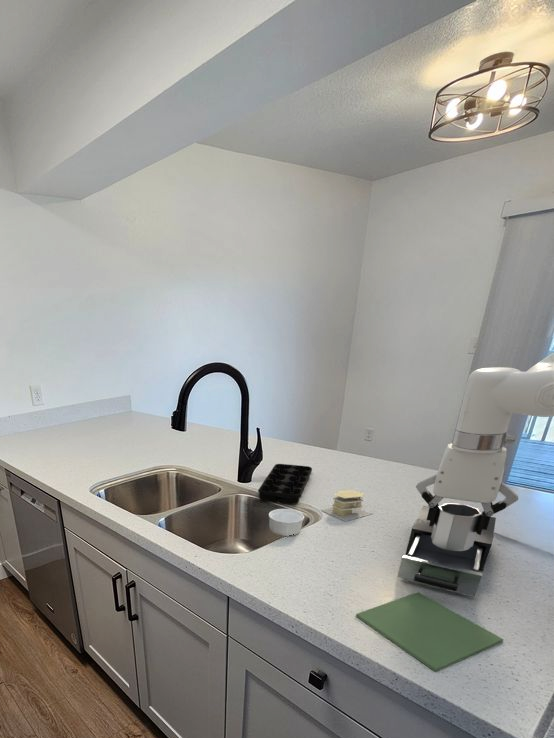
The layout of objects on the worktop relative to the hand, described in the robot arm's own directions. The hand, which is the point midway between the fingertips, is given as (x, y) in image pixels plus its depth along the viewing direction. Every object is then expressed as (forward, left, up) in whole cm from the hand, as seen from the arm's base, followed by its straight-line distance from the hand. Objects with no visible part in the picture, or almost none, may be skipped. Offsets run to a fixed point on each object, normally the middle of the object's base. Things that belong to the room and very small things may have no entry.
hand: (455, 527), depth 87 cm
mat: (-11, +19, -11) cm, 24 cm away
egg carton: (+58, -5, -11) cm, 59 cm away
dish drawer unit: (+7, -11, -11) cm, 18 cm away
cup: (0, 0, -4) cm, 4 cm away
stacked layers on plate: (+34, -7, -11) cm, 37 cm away
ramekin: (+33, +15, -11) cm, 38 cm away
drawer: (-1, +2, -10) cm, 11 cm away
